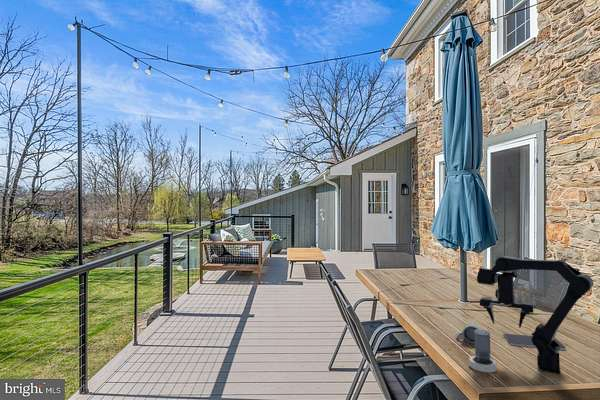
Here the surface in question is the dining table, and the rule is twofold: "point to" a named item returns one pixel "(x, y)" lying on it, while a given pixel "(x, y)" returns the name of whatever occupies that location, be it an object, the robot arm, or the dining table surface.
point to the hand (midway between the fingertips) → (506, 325)
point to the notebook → (525, 340)
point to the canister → (482, 347)
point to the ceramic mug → (468, 333)
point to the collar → (482, 365)
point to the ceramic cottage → (524, 294)
